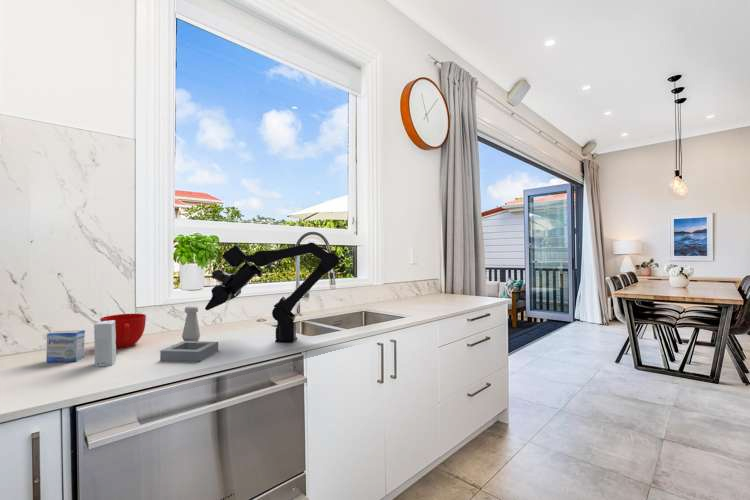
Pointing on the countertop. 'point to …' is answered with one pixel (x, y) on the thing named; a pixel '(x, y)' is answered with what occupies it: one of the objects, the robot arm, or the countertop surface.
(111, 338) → the skincare box
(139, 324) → the ceramic cup
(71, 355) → the medicine box
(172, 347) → the grey square tray
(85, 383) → the countertop surface
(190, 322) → the salt shaker
